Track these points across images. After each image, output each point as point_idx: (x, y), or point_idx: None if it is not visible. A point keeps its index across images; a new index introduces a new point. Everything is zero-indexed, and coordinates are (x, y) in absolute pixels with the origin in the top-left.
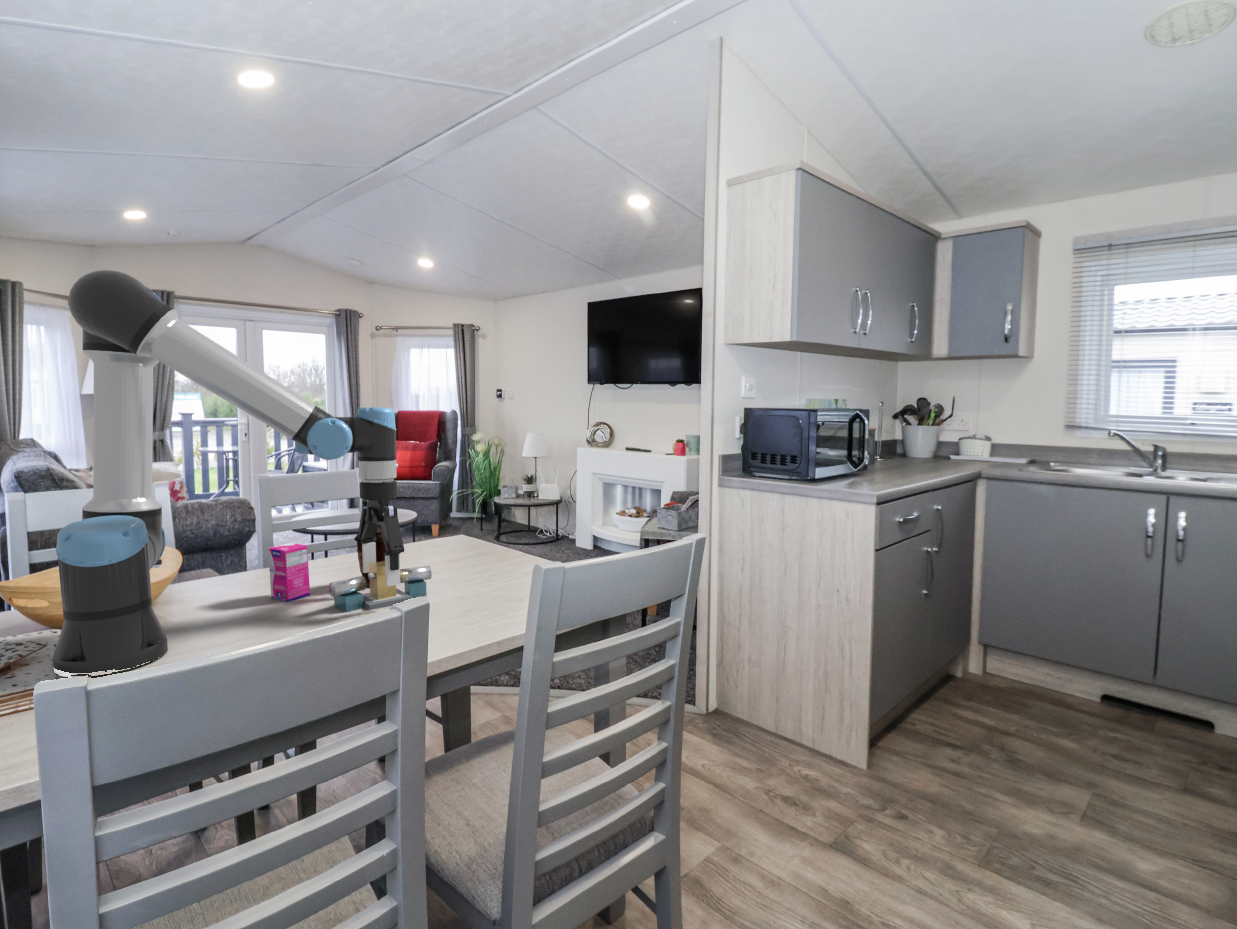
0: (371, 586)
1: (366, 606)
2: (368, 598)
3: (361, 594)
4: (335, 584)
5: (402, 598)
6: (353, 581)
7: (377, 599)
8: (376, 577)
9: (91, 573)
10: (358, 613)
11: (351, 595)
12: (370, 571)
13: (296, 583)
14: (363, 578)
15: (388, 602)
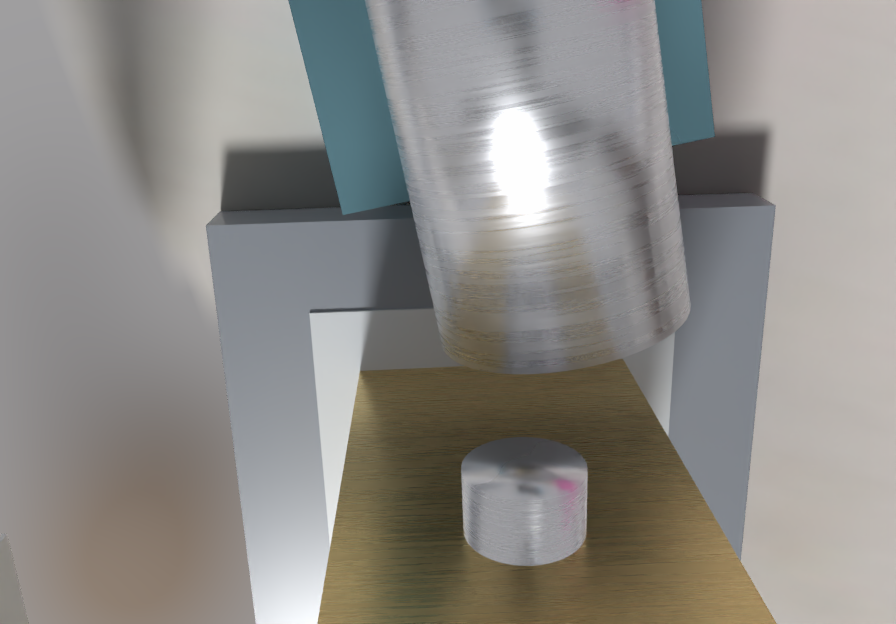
0: (587, 419)
1: (329, 211)
2: None
3: (340, 196)
4: None
5: (253, 596)
6: (435, 139)
7: (371, 371)
8: (356, 537)
9: None
10: (160, 57)
11: (345, 43)
12: (667, 554)
13: None
14: (489, 349)
15: (239, 443)
